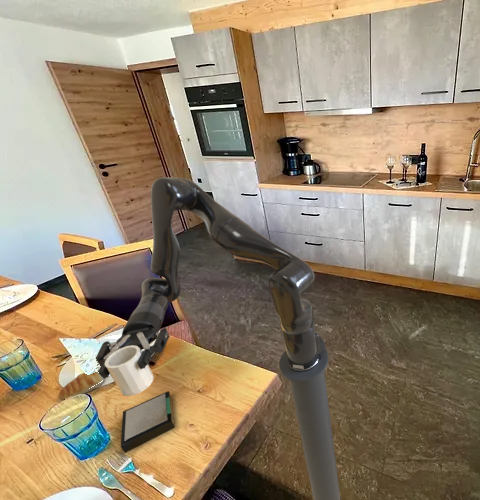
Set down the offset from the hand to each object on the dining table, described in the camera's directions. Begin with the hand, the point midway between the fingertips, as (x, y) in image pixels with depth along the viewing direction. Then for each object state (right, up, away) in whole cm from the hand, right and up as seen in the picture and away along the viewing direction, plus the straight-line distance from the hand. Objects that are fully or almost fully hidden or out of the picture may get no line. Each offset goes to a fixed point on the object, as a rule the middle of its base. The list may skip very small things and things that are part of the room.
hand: (122, 370), depth 63 cm
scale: (+1, -16, +8) cm, 18 cm away
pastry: (-24, -12, +18) cm, 33 cm away
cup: (0, -5, +5) cm, 7 cm away
